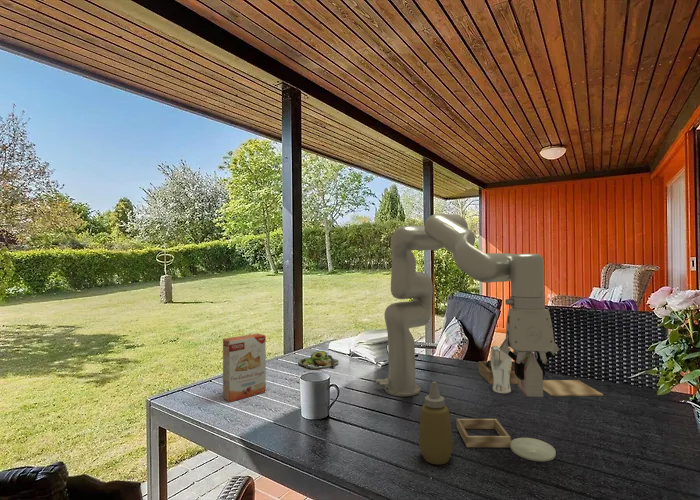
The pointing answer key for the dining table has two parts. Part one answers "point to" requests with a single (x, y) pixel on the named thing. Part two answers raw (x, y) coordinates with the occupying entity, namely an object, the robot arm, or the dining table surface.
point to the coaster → (533, 449)
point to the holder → (483, 441)
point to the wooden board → (568, 388)
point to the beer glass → (501, 370)
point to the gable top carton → (531, 376)
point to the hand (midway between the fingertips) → (529, 377)
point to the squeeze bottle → (435, 428)
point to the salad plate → (318, 360)
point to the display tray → (488, 373)
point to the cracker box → (244, 366)
